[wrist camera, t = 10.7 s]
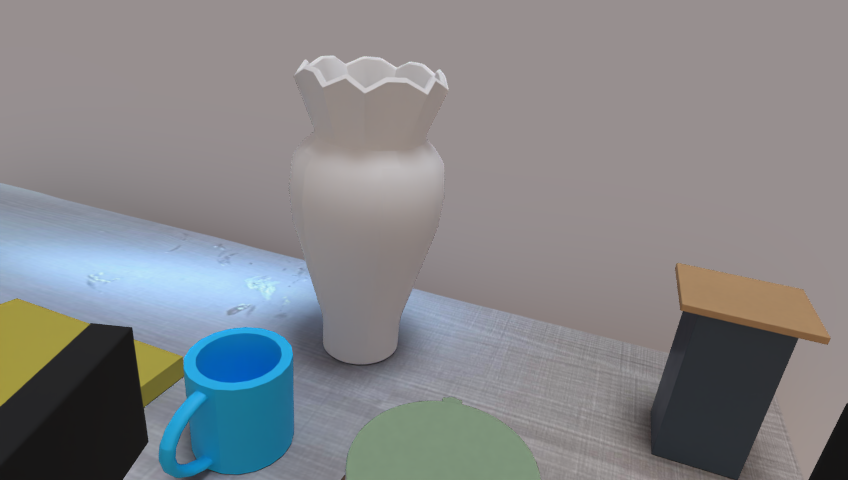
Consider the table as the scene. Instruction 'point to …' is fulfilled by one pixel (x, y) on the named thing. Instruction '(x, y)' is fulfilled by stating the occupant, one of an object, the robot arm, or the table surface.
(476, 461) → the green coffee cup
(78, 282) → the table surface
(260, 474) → the table surface
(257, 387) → the mug
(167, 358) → the flat olive board
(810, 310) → the stand
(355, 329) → the vase
